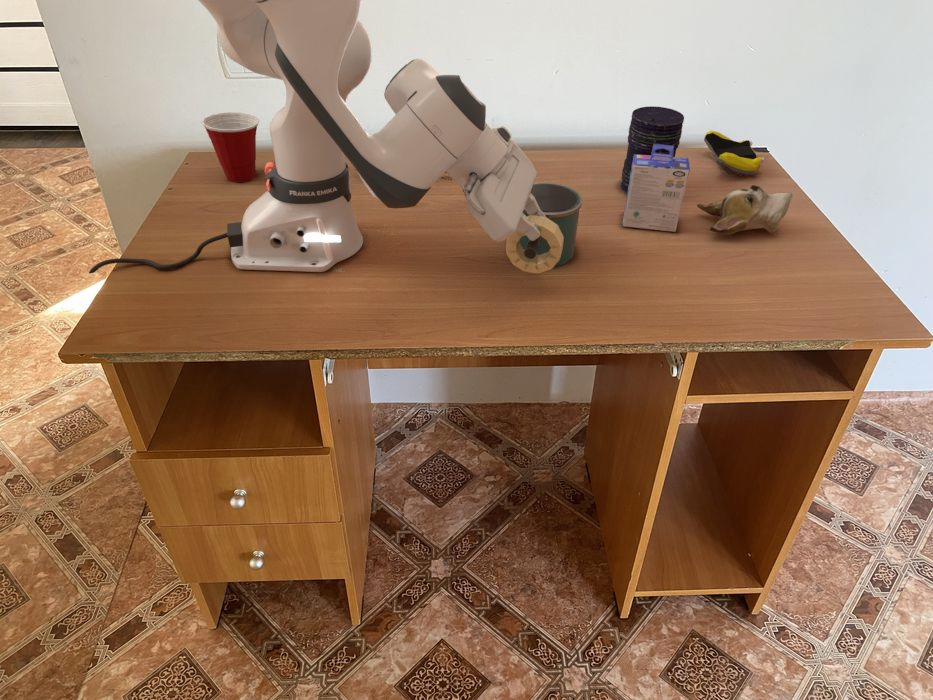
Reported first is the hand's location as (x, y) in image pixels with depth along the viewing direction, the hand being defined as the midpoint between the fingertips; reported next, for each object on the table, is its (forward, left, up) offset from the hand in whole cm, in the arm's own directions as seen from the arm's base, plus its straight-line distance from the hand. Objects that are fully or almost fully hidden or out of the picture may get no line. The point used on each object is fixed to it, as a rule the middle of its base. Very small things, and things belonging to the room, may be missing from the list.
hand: (539, 229), depth 103 cm
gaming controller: (+52, +40, -11) cm, 67 cm away
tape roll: (0, 0, -7) cm, 7 cm away
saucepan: (+2, +7, -11) cm, 13 cm away
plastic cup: (-51, +48, -11) cm, 71 cm away
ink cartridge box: (+26, +18, -11) cm, 33 cm away
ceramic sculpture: (+42, +14, -11) cm, 46 cm away
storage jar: (+30, +32, -11) cm, 45 cm away
